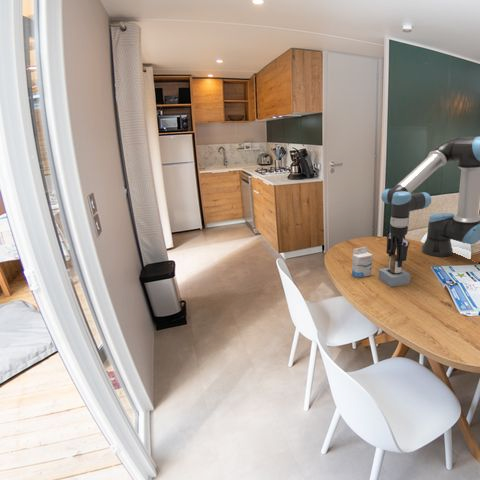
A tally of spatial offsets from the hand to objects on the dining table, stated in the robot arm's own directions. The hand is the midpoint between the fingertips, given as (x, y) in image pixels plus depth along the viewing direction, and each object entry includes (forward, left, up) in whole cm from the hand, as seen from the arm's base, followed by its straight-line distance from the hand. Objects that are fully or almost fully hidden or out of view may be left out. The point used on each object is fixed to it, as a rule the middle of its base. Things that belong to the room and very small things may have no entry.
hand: (394, 270), depth 147 cm
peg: (0, 0, -4) cm, 4 cm away
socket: (0, 0, -6) cm, 6 cm away
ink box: (+11, -11, -6) cm, 17 cm away
